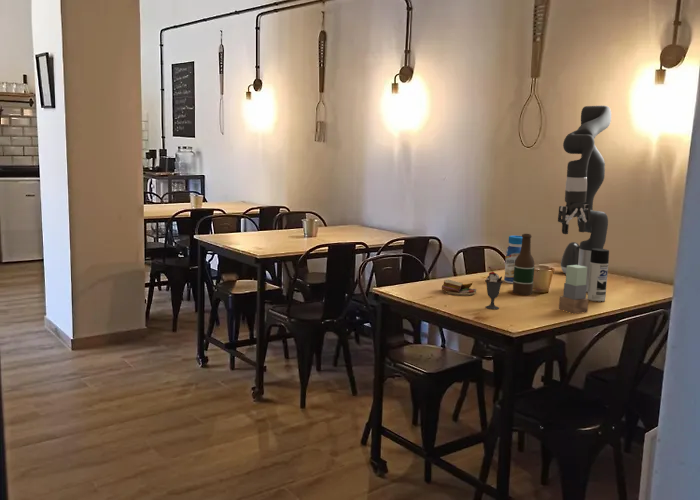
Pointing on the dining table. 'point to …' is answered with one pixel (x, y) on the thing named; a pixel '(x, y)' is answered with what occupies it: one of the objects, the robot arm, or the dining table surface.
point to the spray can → (598, 274)
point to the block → (576, 275)
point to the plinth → (573, 305)
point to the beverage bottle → (512, 257)
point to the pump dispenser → (570, 256)
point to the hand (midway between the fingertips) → (573, 233)
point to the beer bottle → (524, 268)
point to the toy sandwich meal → (458, 288)
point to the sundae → (493, 288)
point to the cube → (574, 291)
